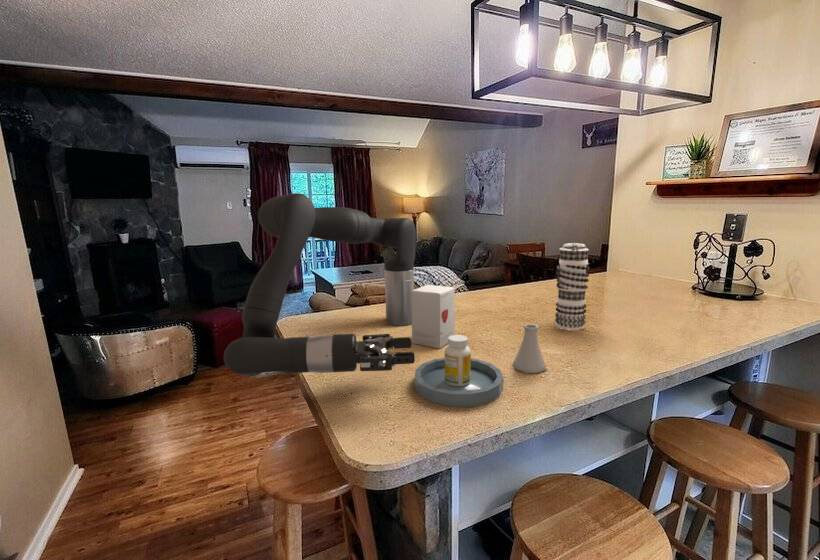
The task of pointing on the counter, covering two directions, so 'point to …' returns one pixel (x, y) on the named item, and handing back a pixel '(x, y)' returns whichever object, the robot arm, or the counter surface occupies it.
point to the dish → (479, 390)
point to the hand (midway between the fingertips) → (412, 349)
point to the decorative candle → (572, 286)
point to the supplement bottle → (457, 361)
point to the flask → (529, 352)
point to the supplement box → (433, 315)
